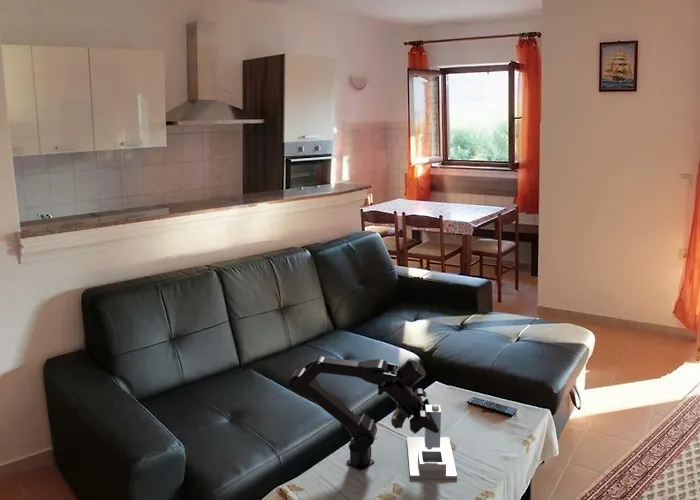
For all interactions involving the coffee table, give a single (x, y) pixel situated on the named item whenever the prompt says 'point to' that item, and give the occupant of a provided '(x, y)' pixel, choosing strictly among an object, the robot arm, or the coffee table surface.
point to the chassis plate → (430, 459)
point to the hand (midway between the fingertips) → (437, 428)
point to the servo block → (431, 437)
